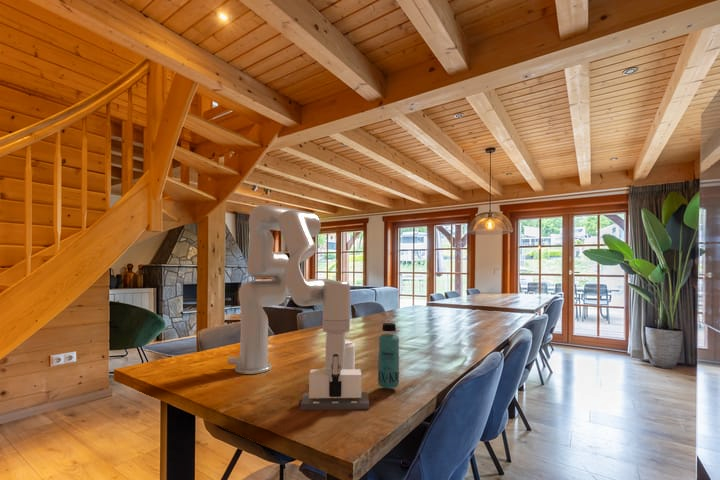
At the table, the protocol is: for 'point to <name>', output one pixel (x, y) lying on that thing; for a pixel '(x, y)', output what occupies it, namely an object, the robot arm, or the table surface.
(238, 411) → the table surface
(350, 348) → the beverage can
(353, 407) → the header
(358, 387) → the white rectangular block
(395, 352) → the beverage bottle
